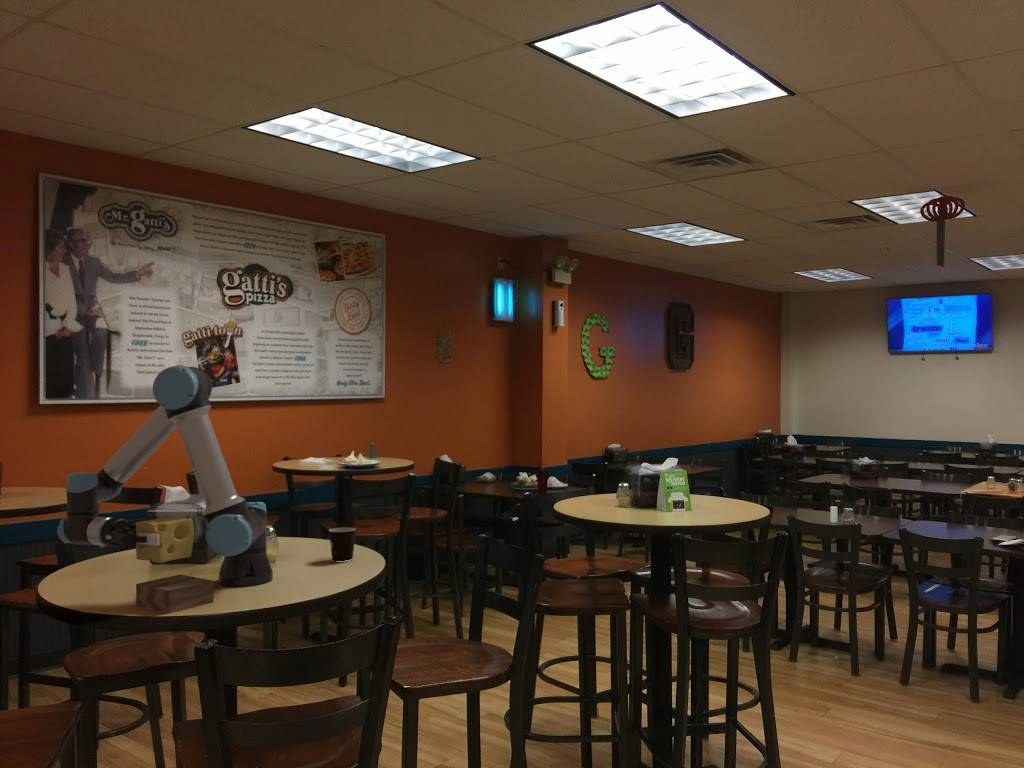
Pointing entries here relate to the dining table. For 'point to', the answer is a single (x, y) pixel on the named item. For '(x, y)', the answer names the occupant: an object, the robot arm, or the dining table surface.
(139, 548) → the cheese
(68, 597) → the dining table surface
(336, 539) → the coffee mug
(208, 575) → the dining table surface
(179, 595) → the walnut block
